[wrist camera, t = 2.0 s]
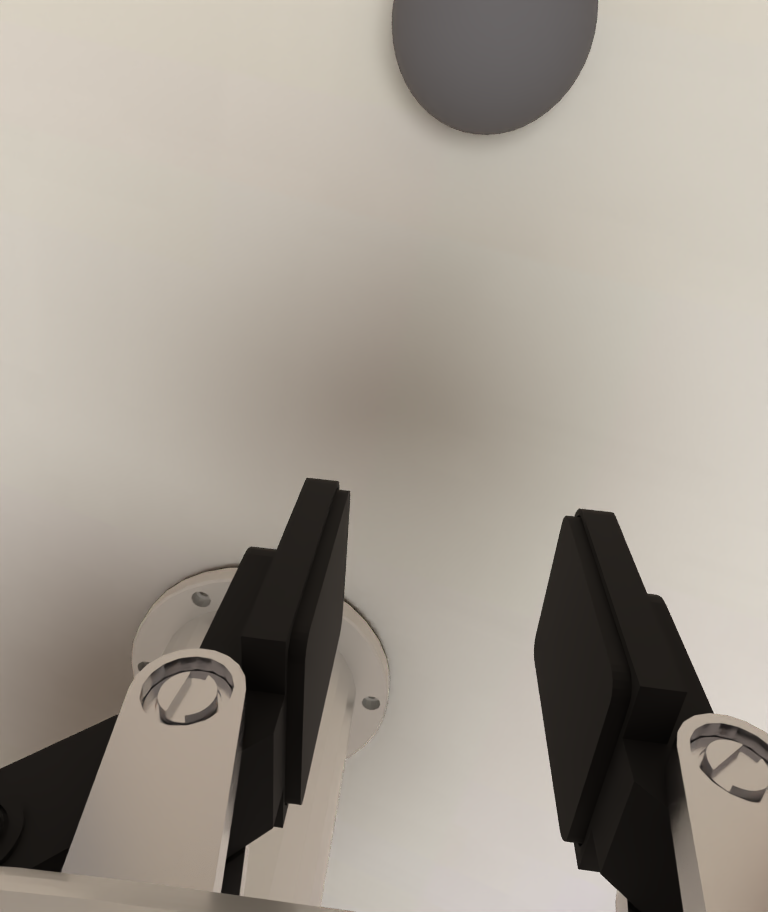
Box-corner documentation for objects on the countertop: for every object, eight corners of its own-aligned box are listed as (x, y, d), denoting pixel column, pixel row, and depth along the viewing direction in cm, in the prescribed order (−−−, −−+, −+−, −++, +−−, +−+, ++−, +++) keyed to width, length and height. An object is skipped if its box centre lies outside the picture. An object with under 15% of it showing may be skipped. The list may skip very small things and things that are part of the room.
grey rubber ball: (497, 169, 22) (509, 183, 18) (364, 57, 21) (338, 38, 16) (617, 10, 20) (670, -25, 15) (476, -124, 19) (484, -208, 14)
